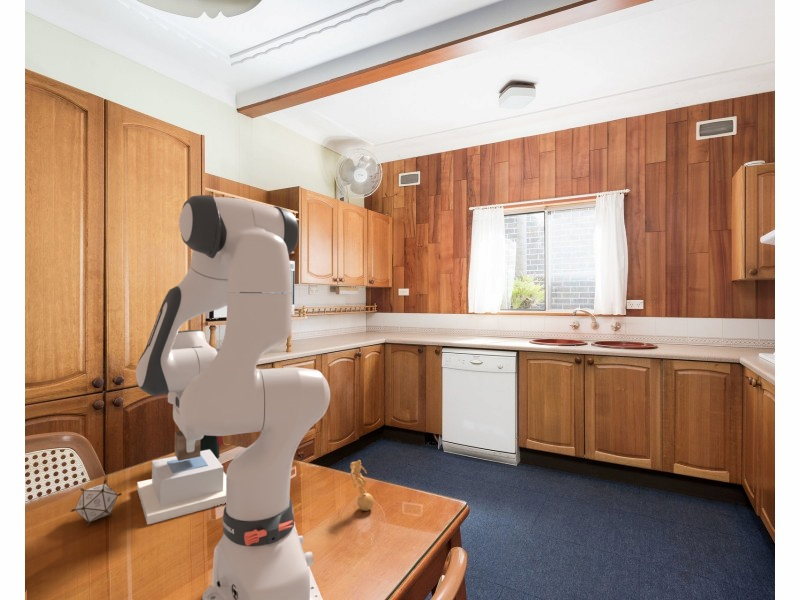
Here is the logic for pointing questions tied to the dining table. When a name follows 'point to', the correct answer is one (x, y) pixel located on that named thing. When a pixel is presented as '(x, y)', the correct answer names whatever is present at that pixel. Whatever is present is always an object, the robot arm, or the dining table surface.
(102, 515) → the game die
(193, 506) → the pedestal
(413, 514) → the dining table surface
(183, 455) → the walnut block
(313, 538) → the dining table surface
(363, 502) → the figurine
